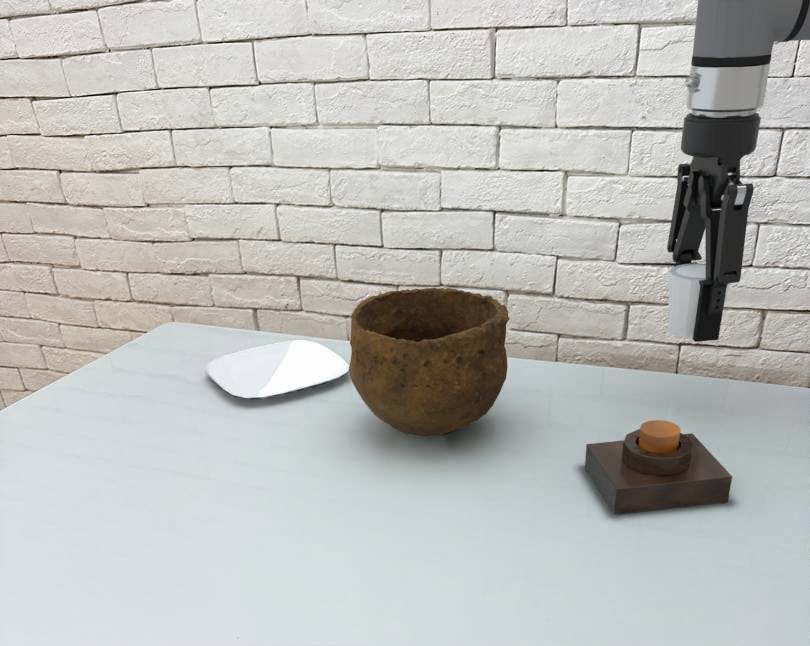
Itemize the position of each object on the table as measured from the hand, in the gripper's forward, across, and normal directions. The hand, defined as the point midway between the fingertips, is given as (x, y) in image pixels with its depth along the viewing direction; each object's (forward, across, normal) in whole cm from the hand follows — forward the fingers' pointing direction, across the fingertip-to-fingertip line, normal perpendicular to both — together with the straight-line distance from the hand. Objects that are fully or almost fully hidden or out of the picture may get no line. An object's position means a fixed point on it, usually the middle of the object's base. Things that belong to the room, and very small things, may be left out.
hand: (692, 328), depth 100 cm
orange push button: (+6, +17, -10) cm, 21 cm away
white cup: (+1, 0, 0) cm, 1 cm away
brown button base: (+10, +17, -10) cm, 22 cm away
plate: (+11, -23, -50) cm, 56 cm away
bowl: (+11, -2, -31) cm, 33 cm away
